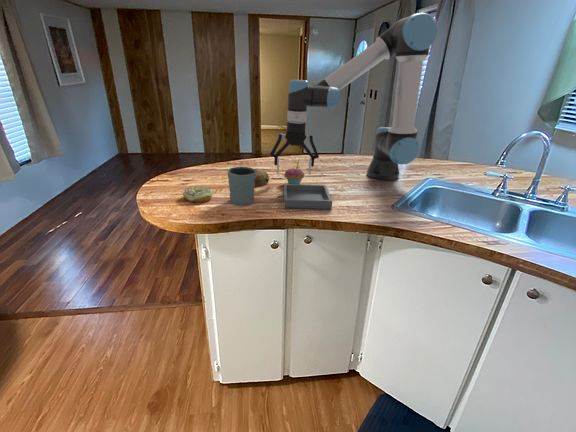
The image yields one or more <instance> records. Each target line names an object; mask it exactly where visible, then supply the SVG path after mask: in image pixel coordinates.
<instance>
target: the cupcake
mask: <svg viewBox="0 0 576 432" xmlns="http://www.w3.org/2000/svg"><path fill="white" fill-rule="evenodd" d="M299 164H300V159H298V160H297V162H296V168H289V169H287V170H286V171H285V172H284V174H283V176H284V178H286V180H287V184H301V182H302V179H303V178H304V177H305V173H304V171H303V170H302V169H300V168H299Z"/></svg>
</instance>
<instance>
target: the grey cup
mask: <svg viewBox="0 0 576 432" xmlns="http://www.w3.org/2000/svg"><path fill="white" fill-rule="evenodd" d="M255 169H256V168H252V167H249V166H232V167H230V168H228V169H227V178H228V189H229V199H230V203H231V204H232V205H234V206H241V207H242V206H249V205H252V204H253V203H254V197H255V186H256V185H255V184H254V183H255V176H256V170H255Z"/></svg>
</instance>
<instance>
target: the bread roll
mask: <svg viewBox="0 0 576 432" xmlns="http://www.w3.org/2000/svg"><path fill="white" fill-rule="evenodd" d="M254 169H255V170H256V176H255V183H254V184H255V186H260V187H261V186H265V185H266V186H267V185H268V184H269V181H270V176H269V174H268V172H267V171H266V170H264V169H263V168H254Z"/></svg>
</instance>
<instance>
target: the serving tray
mask: <svg viewBox="0 0 576 432" xmlns="http://www.w3.org/2000/svg"><path fill="white" fill-rule="evenodd" d="M283 206H284V207H283V208H284V209H283V210H307V211H308V210H309V211H310V210H313V211H314V210H315V211H332V210H333V209H332V208H333V200H332V196H331V194H330V192H329V188H328V187H327V184H304V183H303V184H302V183H300V184H288V183H283Z"/></svg>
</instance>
